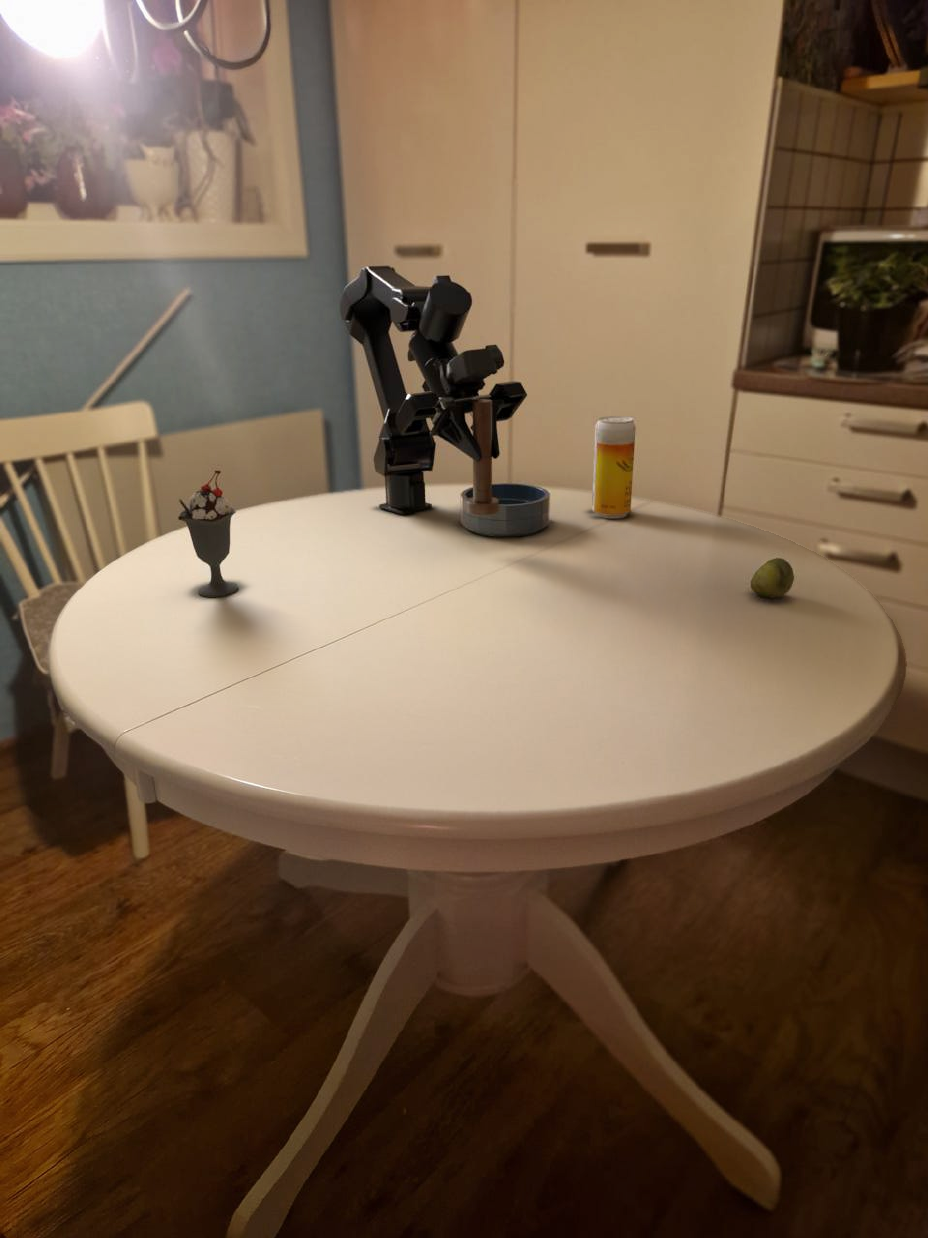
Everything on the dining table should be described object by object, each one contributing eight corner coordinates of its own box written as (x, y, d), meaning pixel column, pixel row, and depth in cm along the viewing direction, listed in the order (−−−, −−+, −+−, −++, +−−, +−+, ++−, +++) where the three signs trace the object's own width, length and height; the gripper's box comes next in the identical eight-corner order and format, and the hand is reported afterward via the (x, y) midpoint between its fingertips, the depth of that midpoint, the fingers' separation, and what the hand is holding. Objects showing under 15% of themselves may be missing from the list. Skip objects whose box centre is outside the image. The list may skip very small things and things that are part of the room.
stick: (460, 510, 120) (458, 400, 114) (482, 504, 123) (482, 396, 117) (482, 517, 117) (481, 404, 111) (505, 510, 120) (505, 400, 114)
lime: (746, 600, 103) (750, 560, 101) (758, 588, 106) (763, 549, 104) (784, 607, 100) (790, 567, 98) (795, 594, 104) (801, 555, 102)
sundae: (255, 583, 111) (241, 468, 105) (225, 602, 105) (209, 480, 99) (211, 578, 113) (195, 464, 107) (180, 596, 107) (161, 477, 101)
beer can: (633, 519, 135) (639, 422, 129) (594, 519, 135) (598, 422, 129) (627, 508, 140) (632, 415, 134) (589, 509, 140) (593, 415, 135)
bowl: (443, 526, 133) (442, 494, 131) (503, 508, 142) (503, 478, 140) (506, 544, 124) (506, 510, 122) (566, 524, 133) (567, 493, 131)
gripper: (403, 328, 108) (454, 431, 104) (519, 320, 118) (570, 413, 114) (375, 386, 117) (421, 482, 113) (485, 373, 127) (531, 461, 123)
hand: (488, 458), depth 116 cm, fingers closed on stick, 2 cm apart
